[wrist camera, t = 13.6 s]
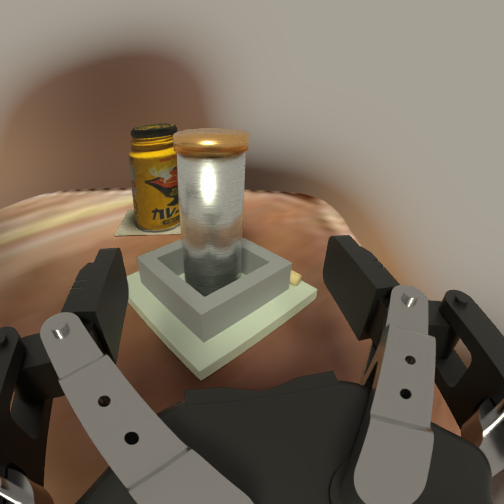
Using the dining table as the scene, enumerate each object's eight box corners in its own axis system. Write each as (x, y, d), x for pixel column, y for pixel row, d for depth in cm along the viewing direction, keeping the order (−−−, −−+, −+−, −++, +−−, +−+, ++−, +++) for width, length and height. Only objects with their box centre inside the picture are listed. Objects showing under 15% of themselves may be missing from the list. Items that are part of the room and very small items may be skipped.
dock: (118, 290, 25) (110, 256, 23) (221, 245, 32) (221, 214, 30) (200, 380, 17) (195, 344, 16) (315, 298, 25) (322, 263, 23)
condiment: (184, 234, 34) (180, 128, 28) (114, 237, 33) (101, 135, 27) (188, 209, 40) (185, 120, 34) (128, 212, 39) (119, 125, 33)
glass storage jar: (171, 285, 24) (159, 134, 18) (216, 264, 27) (217, 126, 21) (208, 316, 21) (203, 142, 15) (255, 289, 24) (265, 134, 18)
